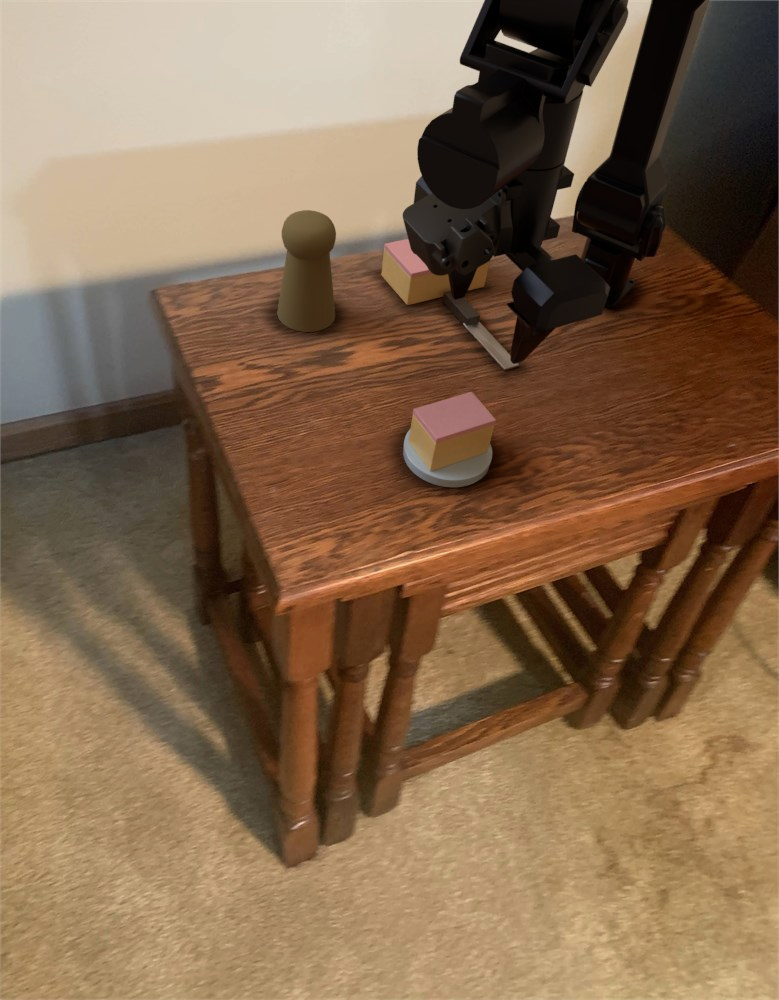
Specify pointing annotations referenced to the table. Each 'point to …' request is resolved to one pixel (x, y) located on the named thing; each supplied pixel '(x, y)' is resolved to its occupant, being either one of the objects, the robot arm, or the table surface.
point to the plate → (448, 468)
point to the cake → (418, 274)
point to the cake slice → (451, 430)
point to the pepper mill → (307, 272)
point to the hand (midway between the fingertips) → (486, 328)
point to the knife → (478, 330)
